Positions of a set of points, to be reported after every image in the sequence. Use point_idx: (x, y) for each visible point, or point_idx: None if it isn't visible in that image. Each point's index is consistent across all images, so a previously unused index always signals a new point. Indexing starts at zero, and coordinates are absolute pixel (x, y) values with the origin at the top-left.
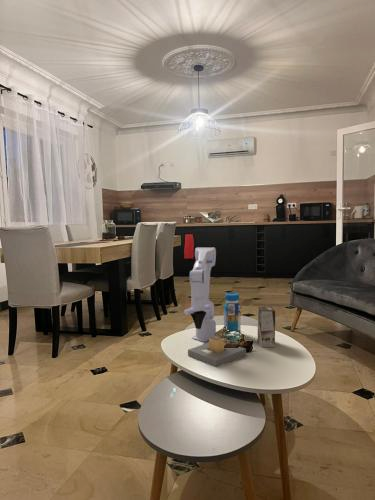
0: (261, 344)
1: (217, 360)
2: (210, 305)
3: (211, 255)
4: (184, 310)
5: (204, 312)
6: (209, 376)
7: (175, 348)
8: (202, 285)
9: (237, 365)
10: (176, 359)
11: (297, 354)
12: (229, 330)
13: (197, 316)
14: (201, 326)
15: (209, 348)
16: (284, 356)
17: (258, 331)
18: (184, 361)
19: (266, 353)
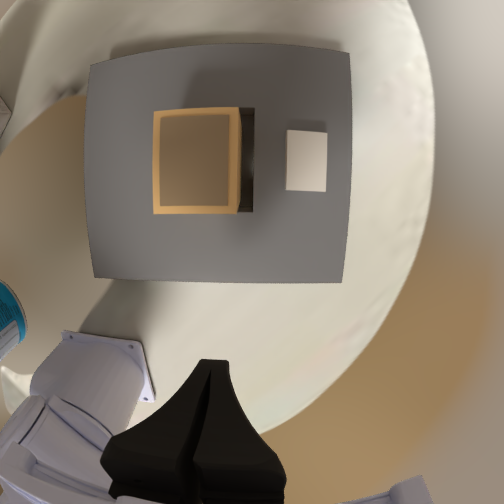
0: (4, 112)
1: (337, 52)
2: (4, 475)
3: None
4: None
5: (131, 468)
6: (418, 46)
7: (298, 370)
8: None
9: (246, 9)
10: (398, 271)
11: (21, 8)
12: (6, 312)
13: (274, 457)
14: (111, 406)
15: (239, 198)
16: (49, 3)
17: None
18: (395, 227)
19: (51, 47)
